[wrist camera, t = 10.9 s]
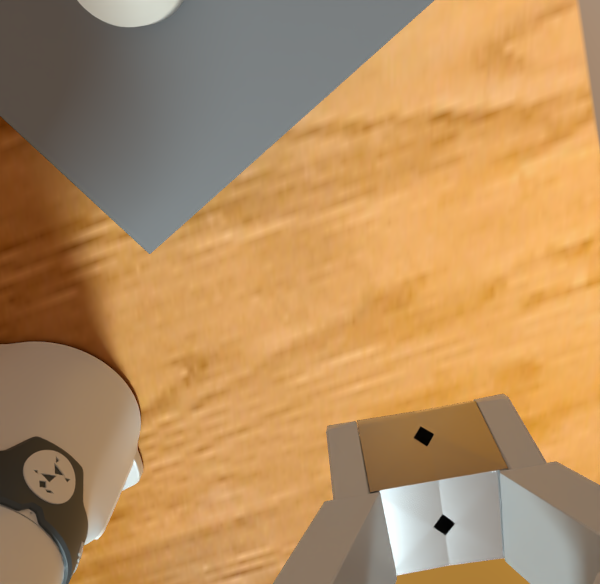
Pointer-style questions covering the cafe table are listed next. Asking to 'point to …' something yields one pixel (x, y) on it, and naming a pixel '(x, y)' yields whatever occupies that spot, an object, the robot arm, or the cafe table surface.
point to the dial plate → (176, 92)
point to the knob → (131, 11)
